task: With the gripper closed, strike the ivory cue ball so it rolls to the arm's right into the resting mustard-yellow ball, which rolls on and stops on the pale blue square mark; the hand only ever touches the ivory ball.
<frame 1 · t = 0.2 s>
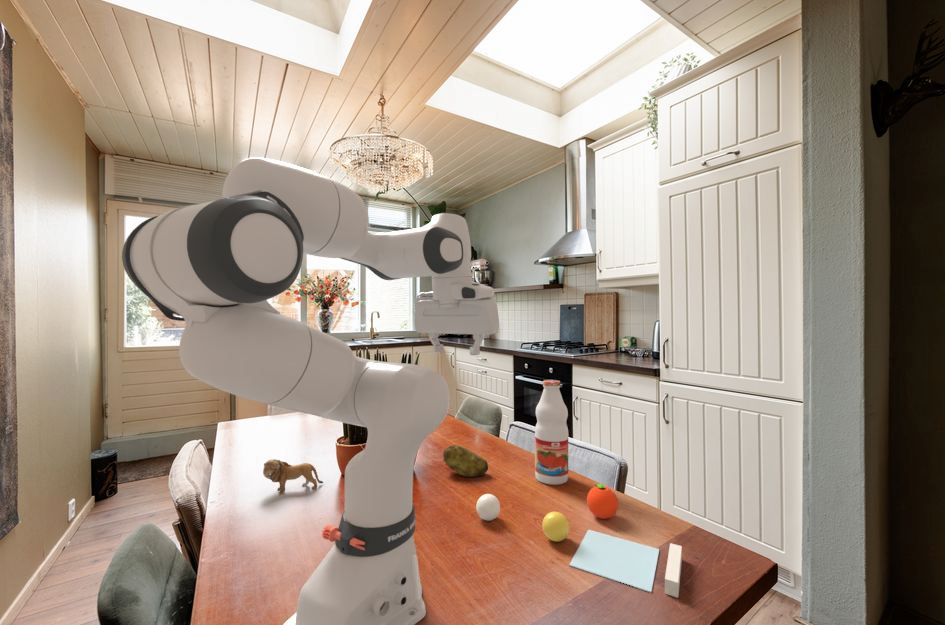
hand: (456, 353, 86), 38 cm above the table, tool pointing down, fingers open, 8 cm apart
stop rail: (673, 575, 71), on the table
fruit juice: (551, 479, 112), on the table
yellow ball: (555, 526, 82), on the table
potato: (465, 474, 115), on the table
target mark: (615, 557, 76), on the table
cue ball: (488, 507, 90), on the table
lion figurine: (292, 491, 104), on the table
clementine: (601, 516, 92), on the table
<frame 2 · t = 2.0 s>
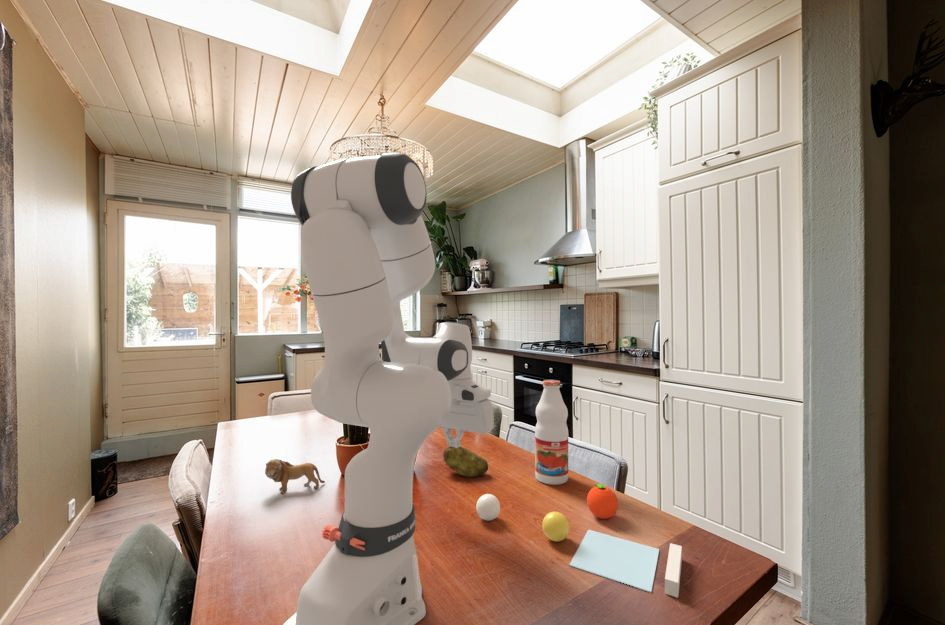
hand: (453, 446, 95), 15 cm above the table, tool pointing down, fingers closed
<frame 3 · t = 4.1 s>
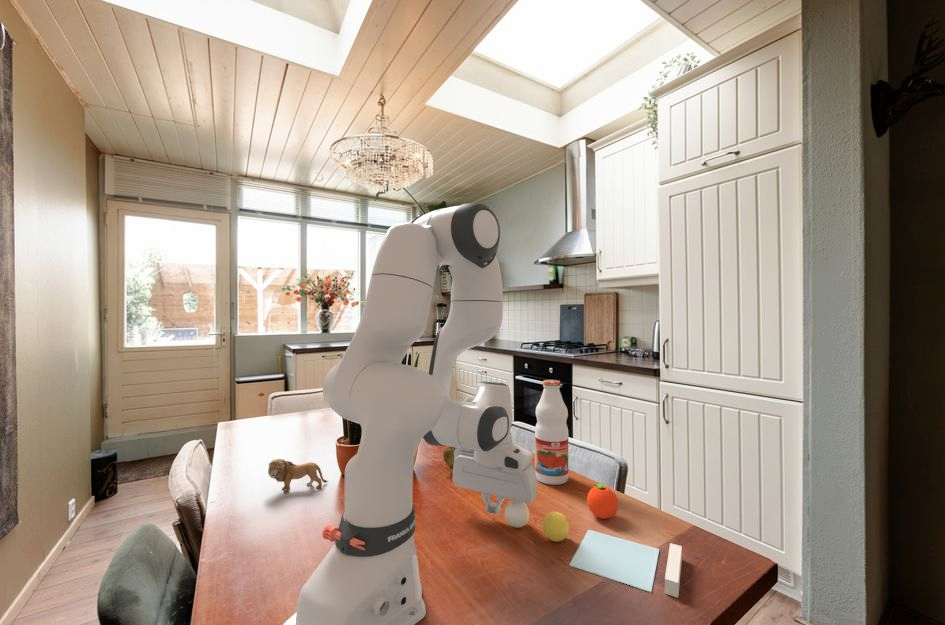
hand: (493, 512, 90), 2 cm above the table, tool pointing down, fingers closed
cue ball: (516, 513, 87), on the table
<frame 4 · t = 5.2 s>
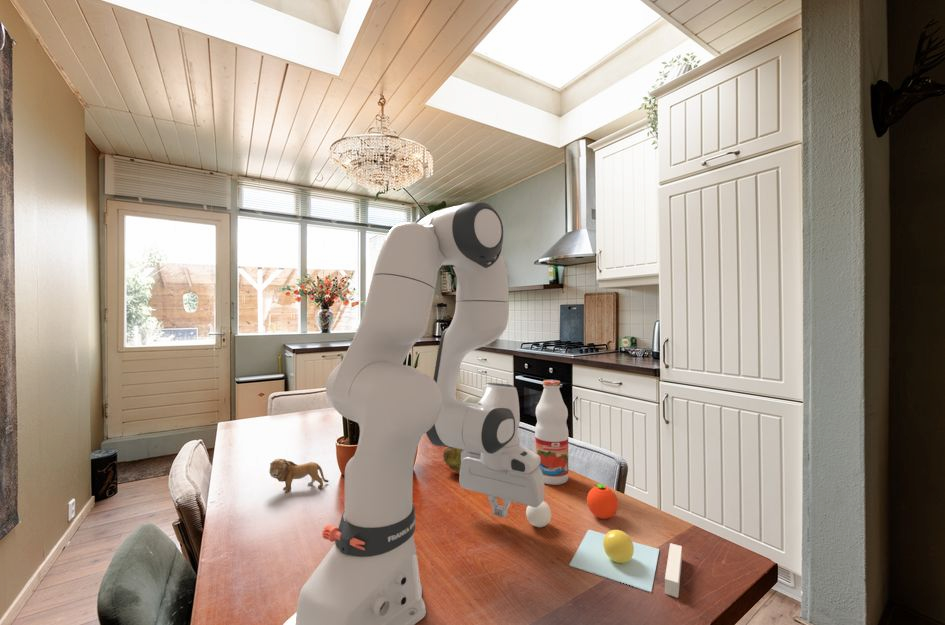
hand: (500, 515, 88), 2 cm above the table, tool pointing down, fingers closed
yellow ball: (618, 546, 75), on the table
cue ball: (538, 513, 87), on the table
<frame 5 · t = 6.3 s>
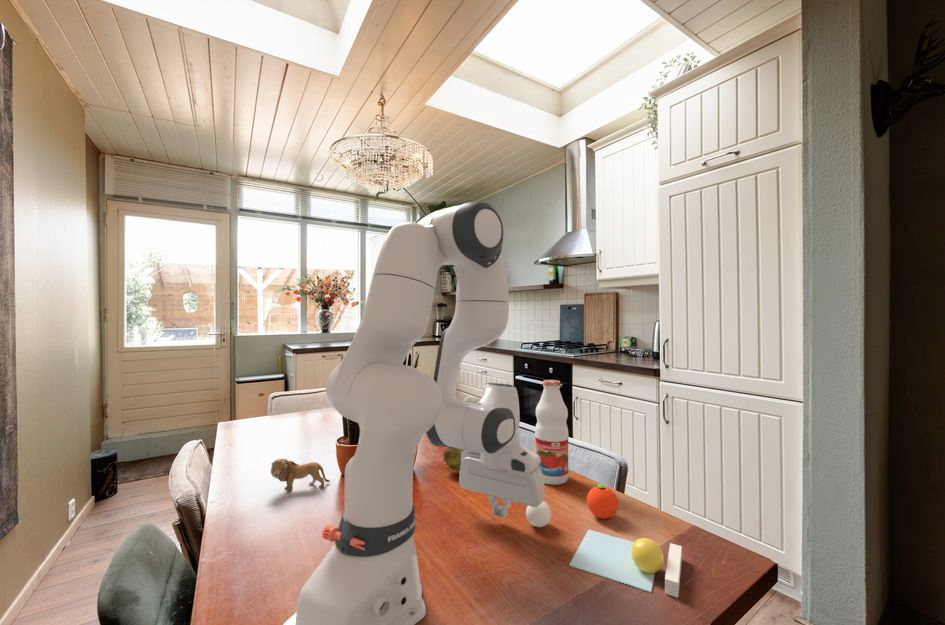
hand: (500, 515, 88), 2 cm above the table, tool pointing down, fingers closed
yellow ball: (647, 555, 72), on the table
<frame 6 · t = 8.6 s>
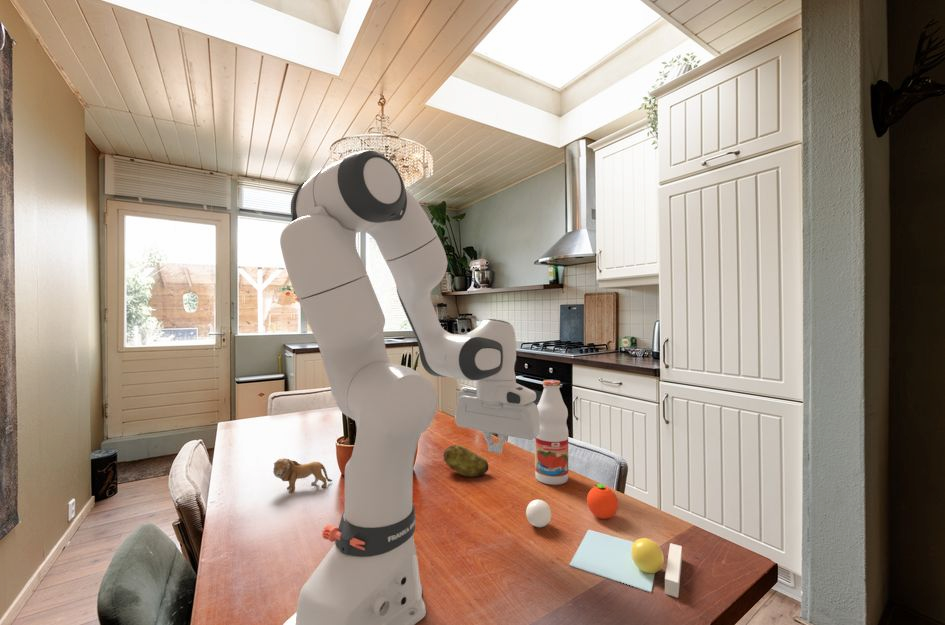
hand: (495, 452, 89), 16 cm above the table, tool pointing down, fingers closed
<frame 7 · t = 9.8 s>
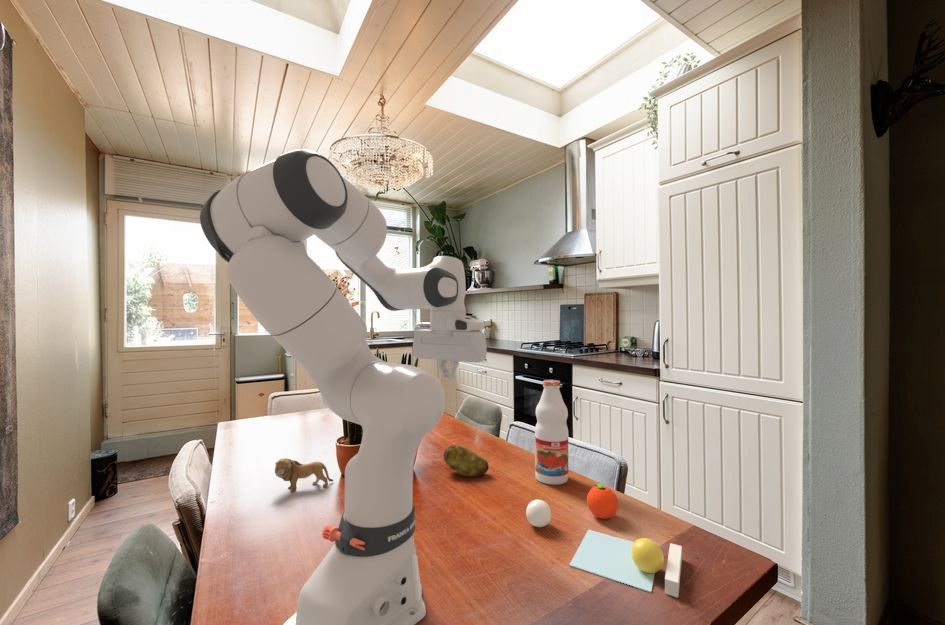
hand: (447, 378, 97), 31 cm above the table, tool pointing down, fingers closed
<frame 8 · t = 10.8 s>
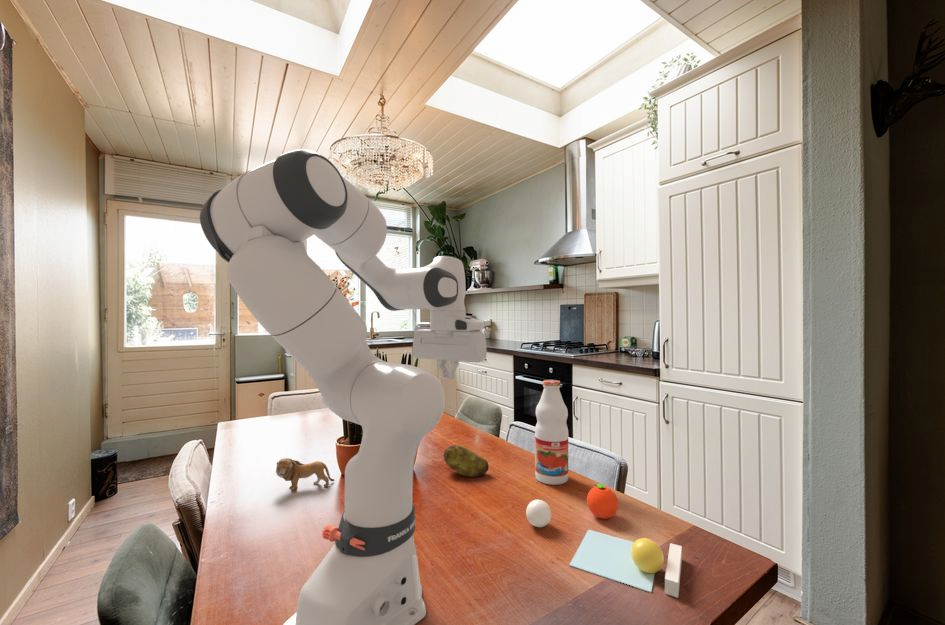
hand: (447, 378, 97), 31 cm above the table, tool pointing down, fingers closed
at the end: yellow ball 5.8 cm from the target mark (horizontally); yellow ball never touched the robot; cue ball first touched yellow ball at 4.2 s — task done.
